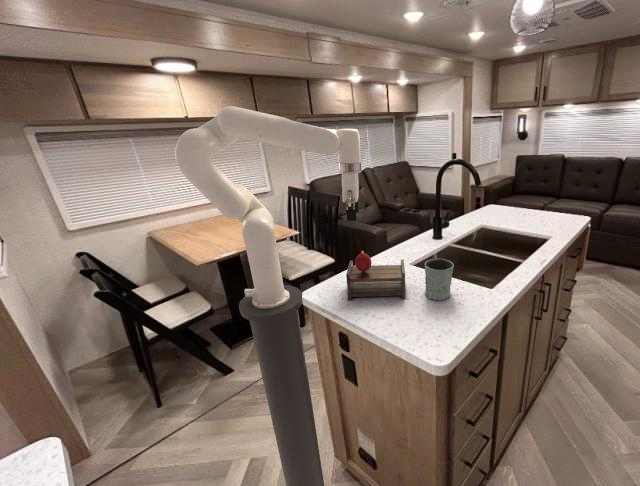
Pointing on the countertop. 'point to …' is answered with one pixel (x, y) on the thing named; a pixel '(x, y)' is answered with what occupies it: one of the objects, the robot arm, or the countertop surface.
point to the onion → (363, 262)
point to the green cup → (438, 278)
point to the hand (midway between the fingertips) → (353, 216)
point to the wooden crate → (376, 281)
